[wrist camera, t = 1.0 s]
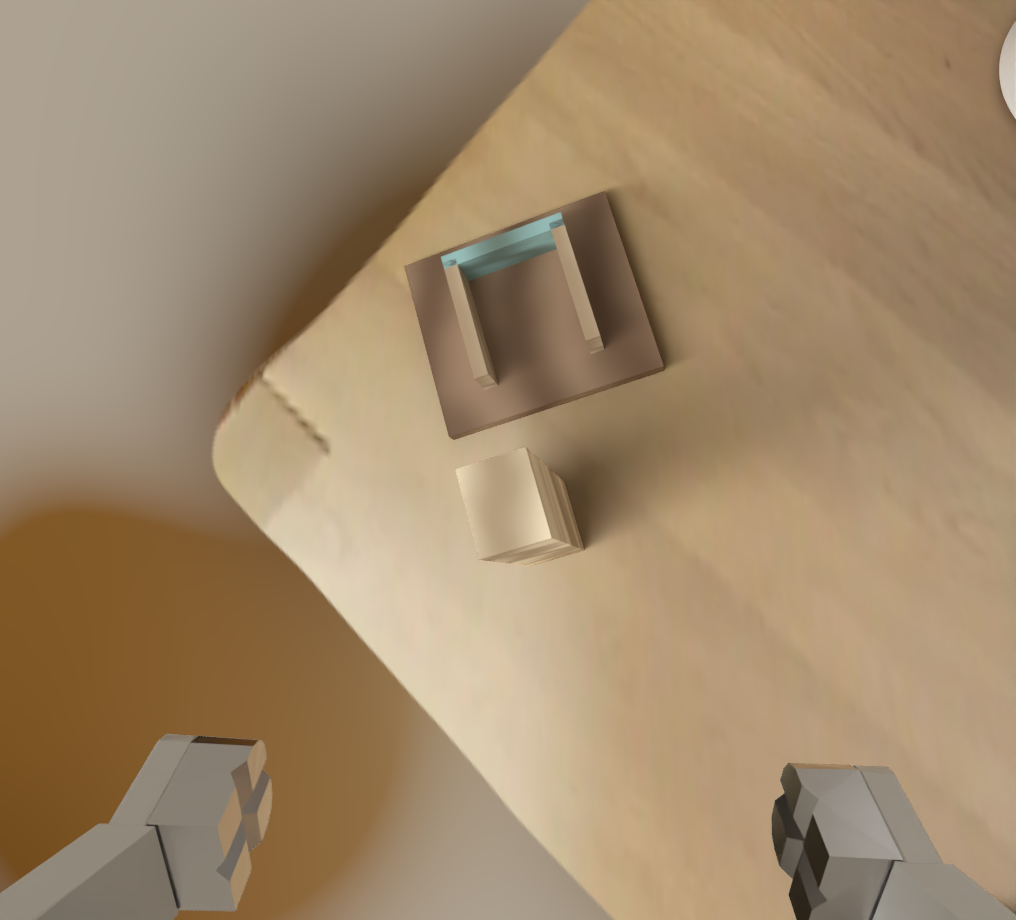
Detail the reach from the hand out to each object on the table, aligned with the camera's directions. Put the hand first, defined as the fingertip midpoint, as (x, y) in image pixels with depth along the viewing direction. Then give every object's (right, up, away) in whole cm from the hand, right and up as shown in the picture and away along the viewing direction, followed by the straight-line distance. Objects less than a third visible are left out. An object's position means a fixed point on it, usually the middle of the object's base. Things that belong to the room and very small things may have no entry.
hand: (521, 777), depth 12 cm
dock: (+1, +16, +43) cm, 46 cm away
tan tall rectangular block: (+3, +1, +41) cm, 41 cm away
